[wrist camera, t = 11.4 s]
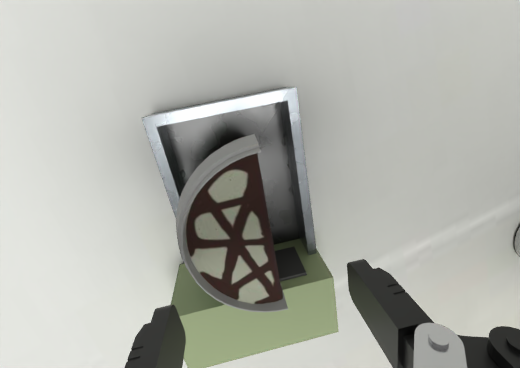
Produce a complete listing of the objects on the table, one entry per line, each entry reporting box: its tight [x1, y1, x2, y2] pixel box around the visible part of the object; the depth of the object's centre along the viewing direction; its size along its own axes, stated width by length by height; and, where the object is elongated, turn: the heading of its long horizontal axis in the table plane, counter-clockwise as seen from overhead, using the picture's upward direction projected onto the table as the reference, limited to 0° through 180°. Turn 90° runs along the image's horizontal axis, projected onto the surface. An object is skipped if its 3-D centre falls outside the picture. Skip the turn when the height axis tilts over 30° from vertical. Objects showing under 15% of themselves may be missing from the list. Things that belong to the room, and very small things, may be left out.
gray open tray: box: [142, 87, 316, 255], centre depth 24 cm, size 12×15×4 cm
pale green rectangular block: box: [171, 239, 338, 368], centre depth 26 cm, size 14×7×7 cm, turn 100°
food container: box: [176, 134, 288, 312], centre depth 20 cm, size 12×6×10 cm, turn 10°
